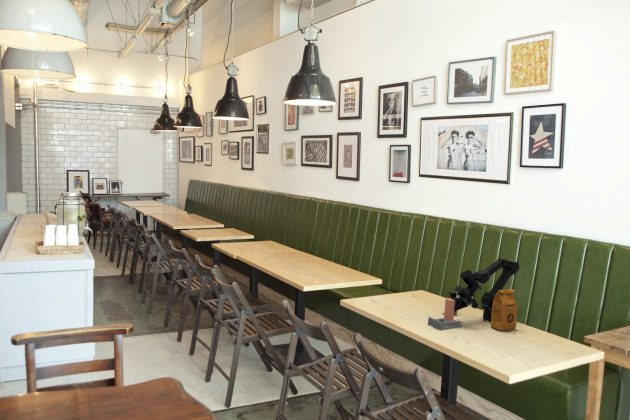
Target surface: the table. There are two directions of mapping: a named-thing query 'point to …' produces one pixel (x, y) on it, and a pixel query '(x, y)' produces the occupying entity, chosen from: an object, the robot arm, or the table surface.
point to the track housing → (443, 324)
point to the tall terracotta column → (449, 310)
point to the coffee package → (504, 311)
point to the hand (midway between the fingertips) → (453, 311)
